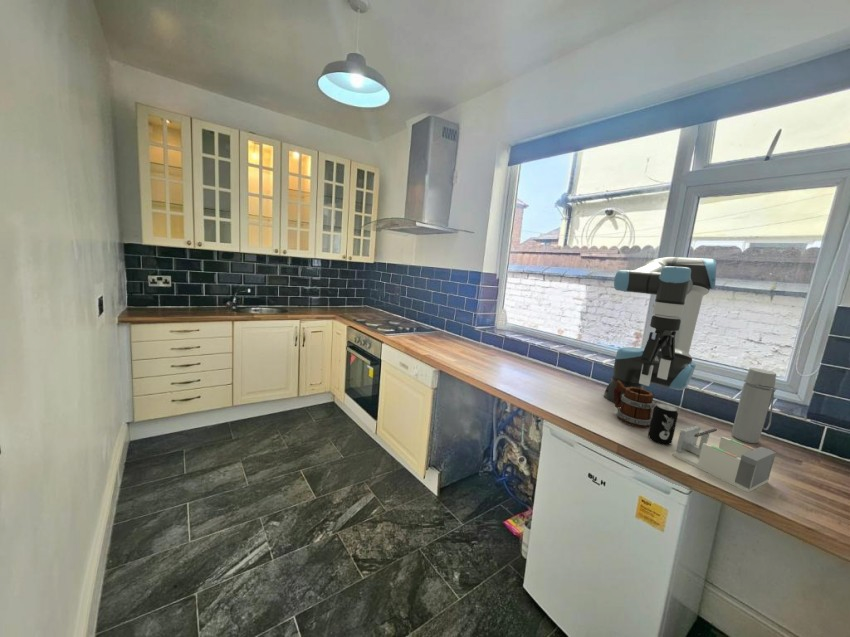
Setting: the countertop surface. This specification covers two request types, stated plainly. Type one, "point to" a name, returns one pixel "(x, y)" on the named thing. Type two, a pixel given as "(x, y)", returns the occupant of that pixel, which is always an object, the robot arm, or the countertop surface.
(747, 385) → the water bottle
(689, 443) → the grey angled piece
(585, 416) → the countertop surface
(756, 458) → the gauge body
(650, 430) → the beverage can
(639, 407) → the mug
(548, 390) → the countertop surface
